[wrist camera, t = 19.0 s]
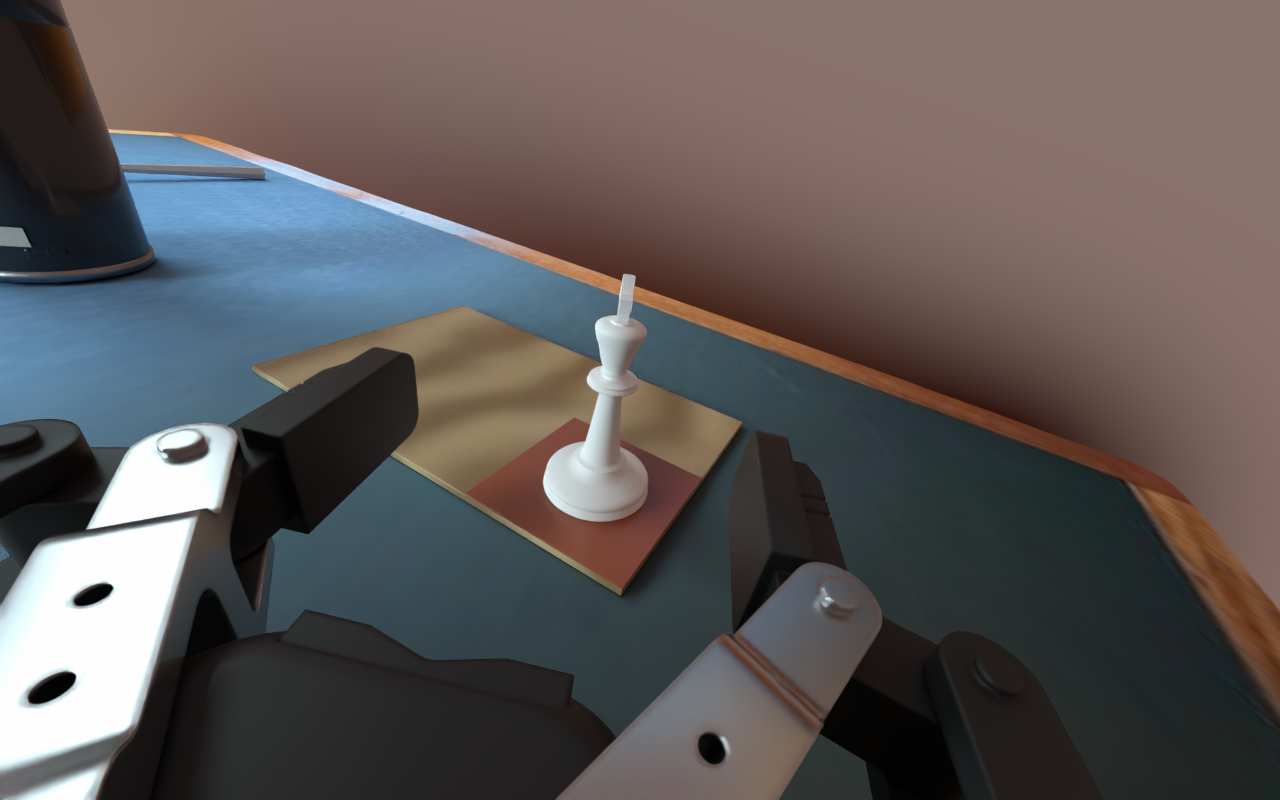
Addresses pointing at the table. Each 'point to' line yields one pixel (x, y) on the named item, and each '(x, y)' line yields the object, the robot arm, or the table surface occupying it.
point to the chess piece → (604, 431)
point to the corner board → (531, 432)
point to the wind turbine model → (197, 170)
